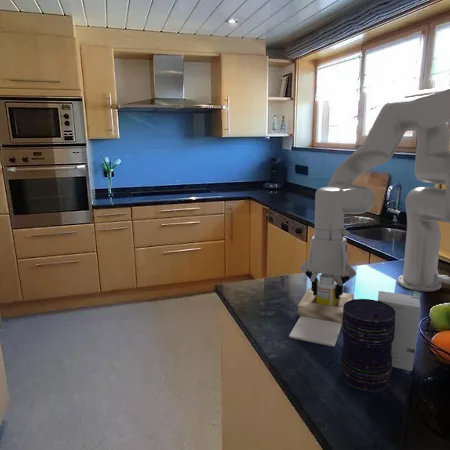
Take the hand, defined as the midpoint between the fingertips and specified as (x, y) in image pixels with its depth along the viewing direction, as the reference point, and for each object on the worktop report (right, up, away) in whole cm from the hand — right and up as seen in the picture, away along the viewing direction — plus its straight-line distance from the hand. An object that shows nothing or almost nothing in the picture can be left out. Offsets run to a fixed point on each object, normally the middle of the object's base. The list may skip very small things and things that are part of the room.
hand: (326, 294), depth 105 cm
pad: (-5, -7, -10) cm, 14 cm away
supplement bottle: (0, -5, +1) cm, 5 cm away
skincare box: (+8, -10, -23) cm, 27 cm away
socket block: (0, -4, +1) cm, 4 cm away
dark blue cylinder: (0, -12, -28) cm, 30 cm away
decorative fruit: (+8, 0, +19) cm, 21 cm away
